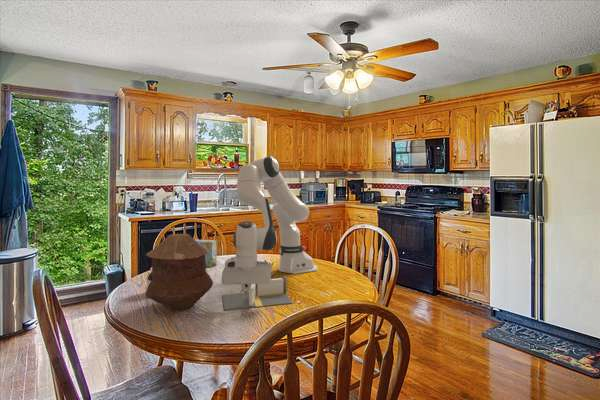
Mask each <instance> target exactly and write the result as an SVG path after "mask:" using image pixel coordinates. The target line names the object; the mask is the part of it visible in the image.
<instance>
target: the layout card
mask: <svg viewBox="0 0 600 400" xmlns="http://www.w3.org/2000/svg"><path fill="white" fill-rule="evenodd" d="M221 297H222V305H223V309H224V311H233V310H243V309H253V308H254V307H255V308H262V307H263V308H264V307H274V306H281V305H291V304H293V301H292V299H290V297H289V296H288V295H287V292H286V293H283V292H282V293H271V294H261V295H258V294H257V296H255V299H254V302H253V305H252V306H249V294H248V295H244V292H235V293H226V294H221Z"/></svg>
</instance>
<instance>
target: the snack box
mask: <svg viewBox="0 0 600 400" xmlns="http://www.w3.org/2000/svg"><path fill="white" fill-rule="evenodd" d="M193 239H194V240H195V241H196V242H197V243H198V244H199V245H201V246H202V247H203V248H205V249H206V250H207V251H208V253H207V254H205V262H206V268H214V267H216V266H217V258H218V257H217V240H210V239H196V238H193Z"/></svg>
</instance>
